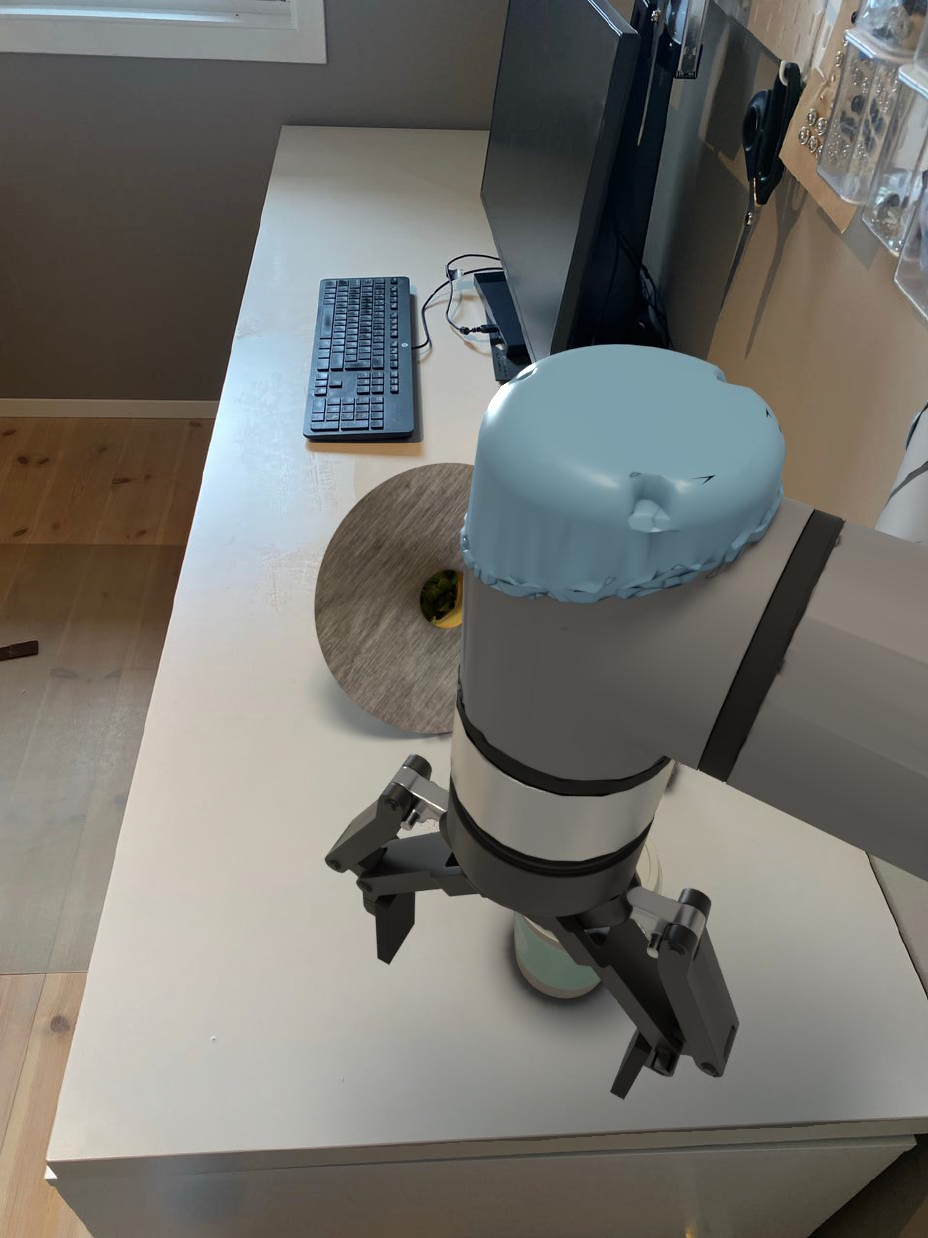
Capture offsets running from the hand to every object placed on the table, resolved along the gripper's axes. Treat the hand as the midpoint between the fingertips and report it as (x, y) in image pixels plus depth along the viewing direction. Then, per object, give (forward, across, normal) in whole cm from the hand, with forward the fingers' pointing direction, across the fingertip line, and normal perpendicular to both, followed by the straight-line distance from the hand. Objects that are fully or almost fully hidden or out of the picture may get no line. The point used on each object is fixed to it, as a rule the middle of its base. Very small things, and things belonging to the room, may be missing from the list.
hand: (506, 1003), depth 48 cm
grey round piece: (+21, +24, -36) cm, 48 cm away
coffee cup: (+21, 0, -14) cm, 25 cm away
